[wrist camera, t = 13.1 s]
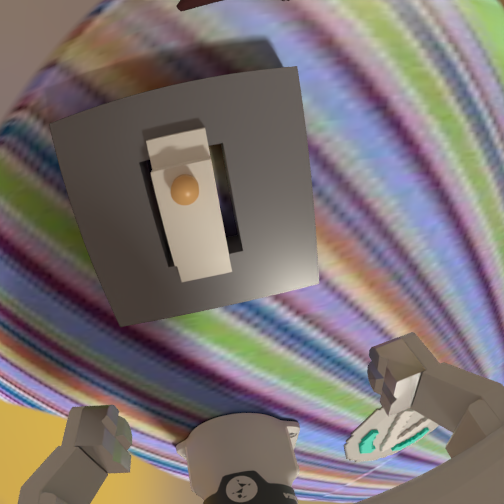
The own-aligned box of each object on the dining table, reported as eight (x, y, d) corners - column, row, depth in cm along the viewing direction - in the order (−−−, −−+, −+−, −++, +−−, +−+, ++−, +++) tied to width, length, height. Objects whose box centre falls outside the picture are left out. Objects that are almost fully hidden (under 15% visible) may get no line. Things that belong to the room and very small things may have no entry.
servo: (226, 249, 29) (235, 285, 23) (182, 258, 28) (181, 296, 23) (203, 124, 24) (206, 130, 18) (153, 135, 23) (141, 145, 18)
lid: (316, 460, 52) (318, 466, 51) (416, 362, 43) (421, 369, 42) (401, 454, 62) (404, 458, 61) (481, 375, 53) (485, 380, 52)
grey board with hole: (307, 266, 31) (319, 283, 28) (125, 306, 30) (120, 327, 27) (284, 70, 23) (297, 66, 20) (64, 120, 21) (49, 124, 18)
